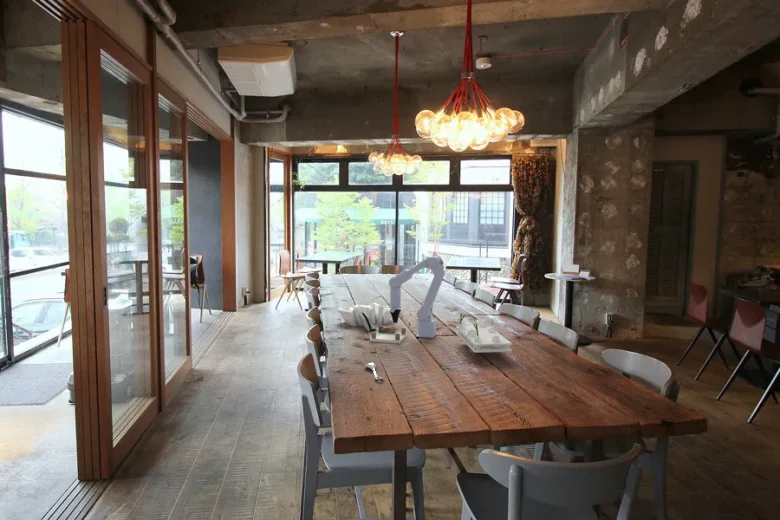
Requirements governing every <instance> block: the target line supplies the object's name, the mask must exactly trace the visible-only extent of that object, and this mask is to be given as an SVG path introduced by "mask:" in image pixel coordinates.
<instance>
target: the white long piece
mask: <svg viewBox="0 0 780 520" xmlns="http://www.w3.org/2000/svg"><path fill="white" fill-rule="evenodd" d="M364 366H365V367H366V368H369V369H371V370H372V372H373V376H374V380H382V379H384V377H383V376H379V375H378V374H377V372H376V370H375V369H376V366H377V364H376V363H374V362H368V363H366V364H365V365H364Z"/></svg>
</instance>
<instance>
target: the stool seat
mask: <svg viewBox="0 0 780 520" xmlns="http://www.w3.org/2000/svg"><path fill="white" fill-rule="evenodd" d="M407 337H408V333H407V328H406V327H401V332H395V333H385V332H378V331H371V337H370V338H369V342H374V343H375V342H376V343H377V342H378V343H387V344H401V343H402V342H403V341H404V340H405V339H406V338H407Z"/></svg>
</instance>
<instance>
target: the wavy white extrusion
mask: <svg viewBox="0 0 780 520" xmlns="http://www.w3.org/2000/svg"><path fill="white" fill-rule="evenodd" d="M388 306H389V305H385V306H383V305H381V304H379V303H377V302H372V303H370V304H369V305H364V304H355V305H353V306H352V307H348V308H347V309H348V310H346V309H343V308H342V307H341V308H340V307H339V308H337V312H338V313H339V314H340V316H341V318H342V319H343V321H344V322H345V324H347V325H348V326H352V327H358V326H359V327H362V326H363V325H362V322H361V320H360V317H359V314H360V313H362V312H366V313H367V315H368V316H369V318H370V320H371V322H372V324H373V325H374V326H375V325H376V324H377V325H385V324H389V323H390V320H391V319H392V316H391V313H390V308H388ZM363 327H364V326H363Z"/></svg>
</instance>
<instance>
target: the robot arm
mask: <svg viewBox="0 0 780 520" xmlns="http://www.w3.org/2000/svg"><path fill="white" fill-rule="evenodd" d="M427 268H428V269H429V270H431V272H432V273H433V278H432V281H431V283H430V285H429V289H428V291H427V292H426V293H427V294H426V295H425V298H424V301H423V303H422V304H421V305H420V308H419V309H418V310H417V311H416V317H417V334H416V335H415V337H416V338H417V337H418V338H429V339H431V338H432V339H434V338H435V337H436V333H437V332H436V329H437V328H436V327H437V326H436V320H435V319H434V320H433V319H432V317H431V316H433V308H434V302H435V301H436V298H437V295H438V293H439V290H440V288H441V285H442V283H443V280H444V278H445V276H446V275H445V274H446V273H445V267H444V260H443V259H442V258H441V256H439V255H434V256H429V257H428V258H426V259H423V260H422V261H420V262H418V263H417V264H415V265H414V266H413V267H412V268H410V269H407V268H406V269H402V270H401V272H400V273H398V274H395V276H392V277H391V278H390V279H389V281H388V285H389V287H390V290H389V291H390V292H389V294H390V295H389V297H390V298H389V304H390V305H387V306H388V308H390V313H391V319H392V323H393V324H397V323H398V321H399V317H400V313H401V311H402V306H401V301H402V300H401V296H402V295H401V294H402V291H401V287H402V285H403V284H405V283H406V282H408V281H409V280H411V279H412V278H413V275H414V274H416V273H417V272H419V271H421V270H423V269H427Z"/></svg>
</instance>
